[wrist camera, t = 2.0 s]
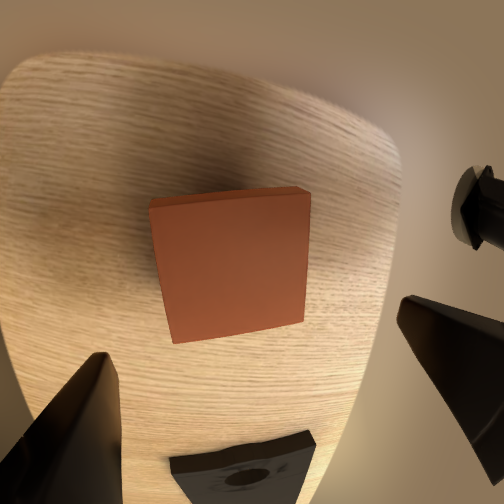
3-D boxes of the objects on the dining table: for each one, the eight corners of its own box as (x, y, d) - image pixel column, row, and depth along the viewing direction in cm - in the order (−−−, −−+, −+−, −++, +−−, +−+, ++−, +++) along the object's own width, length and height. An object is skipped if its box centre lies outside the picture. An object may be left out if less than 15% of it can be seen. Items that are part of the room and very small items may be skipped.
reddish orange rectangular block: (276, 176, 14) (311, 192, 11) (276, 282, 17) (303, 322, 13) (154, 187, 13) (147, 207, 10) (170, 297, 16) (173, 344, 12)
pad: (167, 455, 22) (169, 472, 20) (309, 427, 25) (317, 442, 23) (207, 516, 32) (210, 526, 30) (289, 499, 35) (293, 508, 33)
